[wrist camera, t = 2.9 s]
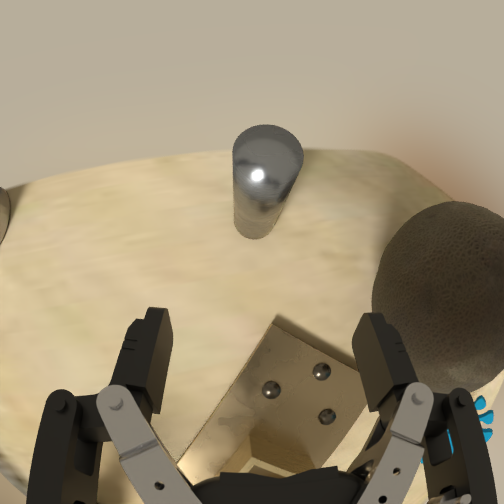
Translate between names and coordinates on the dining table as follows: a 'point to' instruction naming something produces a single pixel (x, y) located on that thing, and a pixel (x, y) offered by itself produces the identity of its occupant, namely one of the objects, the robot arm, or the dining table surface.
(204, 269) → the dining table surface
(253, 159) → the pin
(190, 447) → the hinge leaf
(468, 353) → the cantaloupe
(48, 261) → the dining table surface
